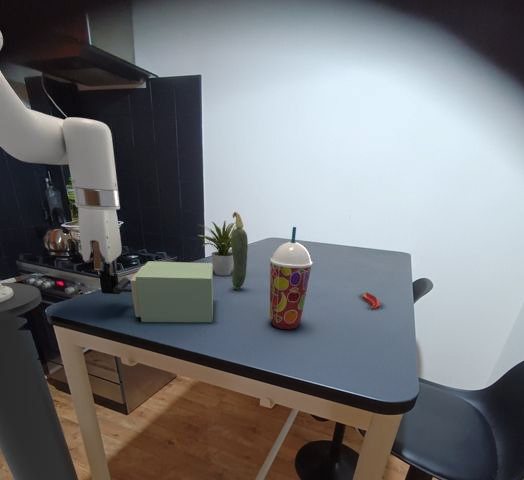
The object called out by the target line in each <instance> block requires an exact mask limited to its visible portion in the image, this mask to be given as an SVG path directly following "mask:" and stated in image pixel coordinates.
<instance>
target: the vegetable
mask: <svg viewBox="0 0 524 480" xmlns="http://www.w3.org/2000/svg"><path fill="white" fill-rule="evenodd" d="M234 218H235V225H236V226H235V225H234V227H235V229H234V230H233V229H232V230H233V232H232V231H231V232H232V234H231V233H230V234H231V237H230V238H231V242H230V243H231V248H230V249H231V253H232V255H233V267H232V279H231V282H232V286H233V288H234V289H235V290H237V291H238V290H239V289H240V288H241V287H243V285H244V283H245V280H246V276H247V266H248V248H249V244H248V243H249V241H248V239H249V238H248V234H247V232H246V230H245V229H244V223H243V220H242V217H241V214H239V213H238V212H236V211H234V212H233V213H232V219H234Z"/></svg>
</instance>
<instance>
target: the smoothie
mask: <svg viewBox="0 0 524 480" xmlns="http://www.w3.org/2000/svg"><path fill="white" fill-rule="evenodd" d="M296 234H297V227H296V226H293V227H292V232H291V241H288V242H285V243H283V244H280V246H278V247H277V248H276V250H275V251H274V252H273V255H272V256H271V257H270V259H269V263H270V265H269V278H270V279H269V320H270V321H271V324H272V325H273V326H274V327H276V328H278V329H281V330H292V329H295V328H297V327H298V326H299V323H301V321H302V318H303V312H304V306H305V300H306V296H307V291H308V285H309V280H310V275H311V269H312V266H313V261H311V256H310V253H309V251H308V250H307V248H306V247H304V245H302V244H301V243H299V242H297V241H296V236H297V235H296Z"/></svg>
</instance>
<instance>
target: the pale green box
mask: <svg viewBox="0 0 524 480" xmlns="http://www.w3.org/2000/svg"><path fill="white" fill-rule="evenodd" d="M143 266H144V267H143V268H142V269H141V271H140V272H139V273H138V274H137V275H136V277H135V278H136V285H137V293H138V300H139V308H140V315H141V317H140V321H141V322H140V323H213V319H214V265H213V262H187V261H186V262H181V261H151V260H150V261H149V260H148V261H147V262H146V263H145V264H144V265H143Z"/></svg>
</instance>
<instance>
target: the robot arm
mask: <svg viewBox="0 0 524 480" xmlns="http://www.w3.org/2000/svg"><path fill="white" fill-rule="evenodd" d="M3 46H4V37H3V34H2V32H1V30H0V51H1V50H2V48H3ZM0 148H1V149H3V150H4V151H5V152H6V153H7V154H8V155H10V156H11V157H13V158H15V159H17V160H19V161H21V162H24V163H31V164H46V165H54V166H55V165H57V166H64V165H68V167H69V173H70V179H71V185H72V189H73V196H74V202H75V207H76V208H78V210H77V211H78V212H77V215H78V217H77V218H78V231H79V240H80V241H79V242H80V247H81V255H82V259H83V261H84V262H85V263H86V264H87V263H91V262H92V261H93V266H94V271H95V272H97V275H98V279H99V284H100V291H101V293H102V294H105V295H106V294H107V295H108V294H109V295H116V294H115V293H114V292H113V288H114V287H115V286H116V285H117V284H118V283H119V277H118V264H117V259H118V258H119V257H120V256H121V254H122V239H121V238H122V237H121V232H120V225H119V219H118V213H117V210H120V209H121V205H120V197H119V190H118V189H119V188H118V179H117V172H116V171H117V170H116V161H115V154H114V153H115V152H114V145H113V136H112V132H111V129H110V127H109V125H107V124H106V123H104V122H102V121H100V120H95V119H90V118H84V117H76V116H75V117H72V116H71V117H70V116H69V117H66V118H65V119H63V118H60V117H56V116H53V115H49V114H46V113H43V112H40V111H37V110H34V109H30V108H27V106H25V104H24V103H23V101H22V100H21V99H20V98H19V96H18V95H17V93H16V92H15V90H14V89H13V88H12V86H11V85H10V84H9V82H8V81H7V79H6V78H5V76H4V75H3V73H2V71H1V70H0ZM1 283H2V280H0V302H3V301H6V300H8V299H10V298H11V297H12V296H13V295H14V293H13V290H12V289H11V288H10V287H7V286H2V284H1Z"/></svg>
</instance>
